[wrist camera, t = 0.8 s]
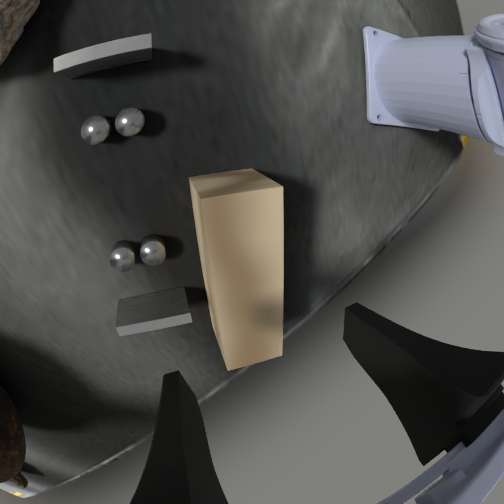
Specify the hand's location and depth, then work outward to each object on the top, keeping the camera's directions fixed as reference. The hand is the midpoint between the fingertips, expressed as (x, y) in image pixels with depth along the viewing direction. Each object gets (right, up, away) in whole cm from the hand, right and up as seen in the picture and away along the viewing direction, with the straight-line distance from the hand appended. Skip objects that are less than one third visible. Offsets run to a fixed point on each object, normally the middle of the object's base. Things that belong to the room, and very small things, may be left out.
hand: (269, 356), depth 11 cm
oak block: (-2, +4, +9) cm, 10 cm away
